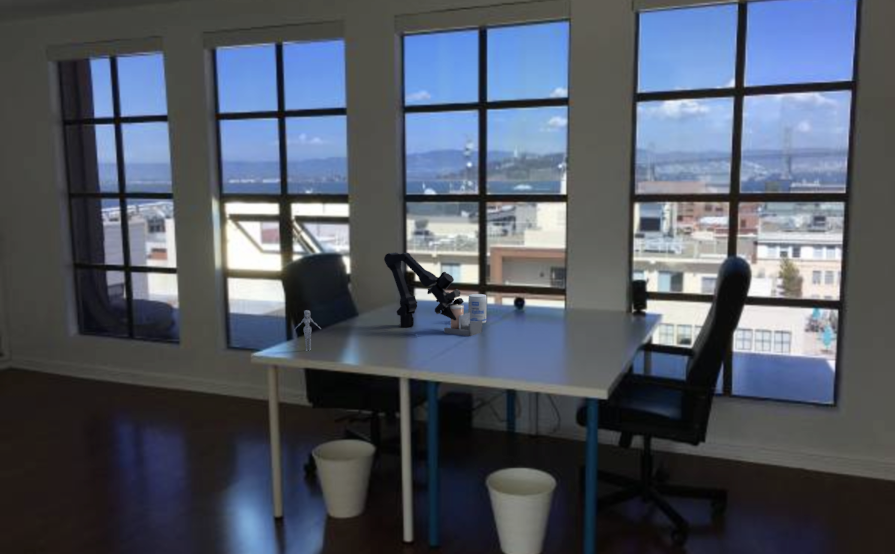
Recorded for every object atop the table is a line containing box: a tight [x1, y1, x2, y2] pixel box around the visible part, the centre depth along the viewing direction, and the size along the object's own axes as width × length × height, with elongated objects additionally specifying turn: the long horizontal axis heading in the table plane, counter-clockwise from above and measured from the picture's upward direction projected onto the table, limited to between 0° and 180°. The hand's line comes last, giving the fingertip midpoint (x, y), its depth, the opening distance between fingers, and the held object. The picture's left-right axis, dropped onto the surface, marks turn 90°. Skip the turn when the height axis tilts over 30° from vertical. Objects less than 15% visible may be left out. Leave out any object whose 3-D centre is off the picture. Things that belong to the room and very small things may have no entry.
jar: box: [450, 304, 465, 329], centre depth 348 cm, size 7×7×13 cm
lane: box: [443, 320, 483, 337], centre depth 347 cm, size 15×11×6 cm
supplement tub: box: [467, 293, 488, 324], centre depth 373 cm, size 10×10×15 cm
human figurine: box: [293, 309, 322, 352], centre depth 315 cm, size 12×4×18 cm, turn 97°
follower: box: [459, 312, 470, 330], centre depth 346 cm, size 1×8×9 cm, turn 146°
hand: (459, 318), depth 348 cm, fingers closed on jar, 6 cm apart
